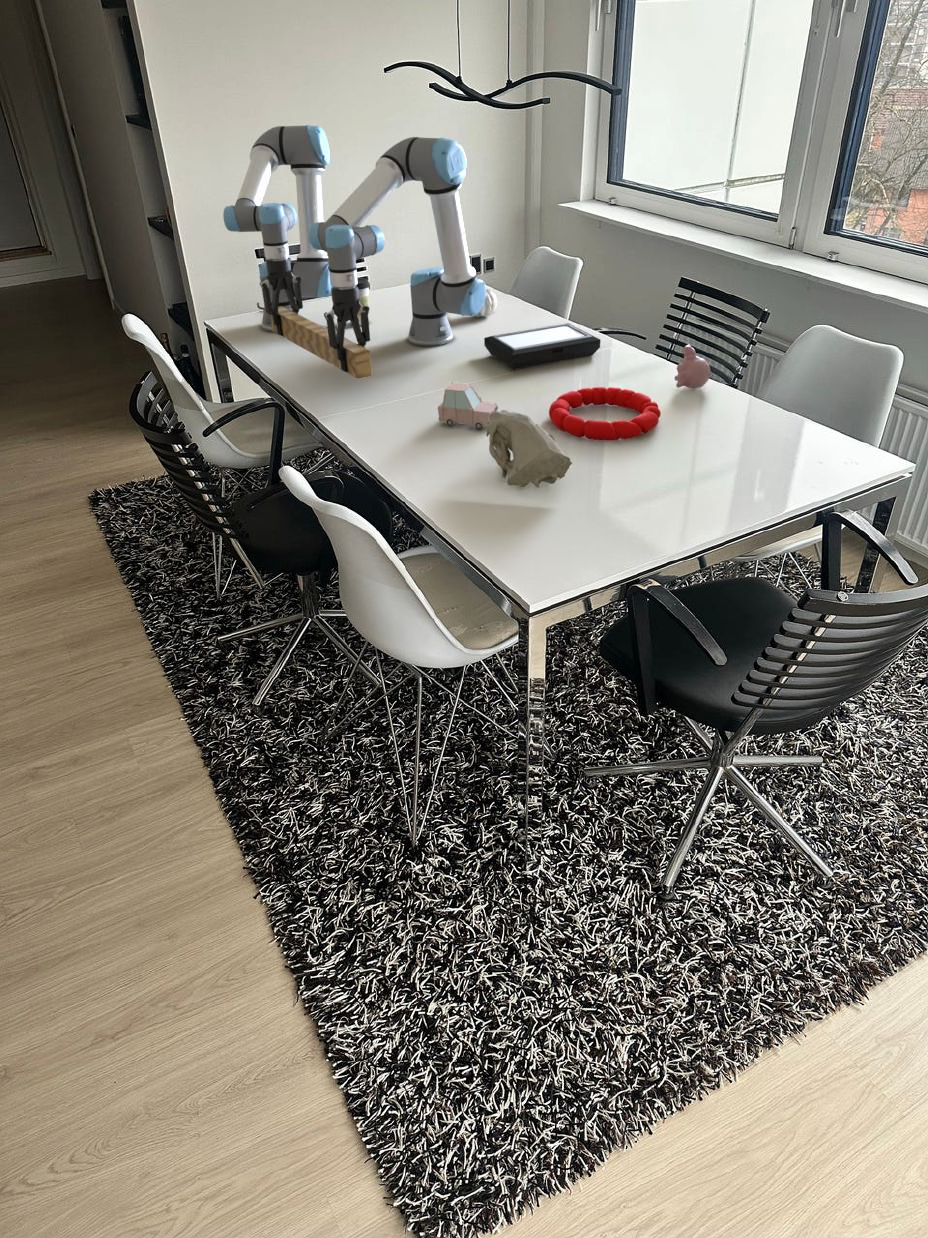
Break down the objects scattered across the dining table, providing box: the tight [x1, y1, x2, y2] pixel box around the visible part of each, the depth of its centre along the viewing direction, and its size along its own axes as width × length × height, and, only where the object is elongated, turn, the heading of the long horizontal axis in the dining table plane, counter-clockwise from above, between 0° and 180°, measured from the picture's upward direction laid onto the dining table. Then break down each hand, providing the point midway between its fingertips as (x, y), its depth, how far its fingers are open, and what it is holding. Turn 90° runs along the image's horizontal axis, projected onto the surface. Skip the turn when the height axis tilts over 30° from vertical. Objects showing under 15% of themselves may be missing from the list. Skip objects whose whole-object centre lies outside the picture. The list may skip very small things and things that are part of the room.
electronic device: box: [483, 322, 601, 371], centre depth 289 cm, size 32×6×20 cm
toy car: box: [437, 382, 499, 431], centre depth 243 cm, size 9×15×10 cm, turn 70°
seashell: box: [473, 288, 498, 318], centre depth 327 cm, size 10×15×10 cm
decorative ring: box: [548, 386, 661, 442], centre depth 242 cm, size 7×30×30 cm
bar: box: [270, 306, 373, 380], centre depth 274 cm, size 59×4×7 cm, turn 34°
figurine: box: [674, 344, 711, 390], centre depth 259 cm, size 9×11×12 cm
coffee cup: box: [356, 277, 371, 327], centre depth 323 cm, size 10×10×15 cm
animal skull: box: [485, 409, 573, 489], centre depth 216 cm, size 17×25×20 cm
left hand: (287, 333), depth 291 cm, fingers closed on bar, 5 cm apart
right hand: (352, 368), depth 260 cm, fingers closed on bar, 4 cm apart
